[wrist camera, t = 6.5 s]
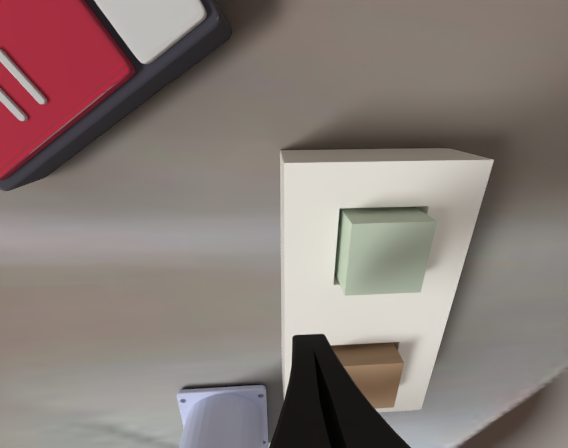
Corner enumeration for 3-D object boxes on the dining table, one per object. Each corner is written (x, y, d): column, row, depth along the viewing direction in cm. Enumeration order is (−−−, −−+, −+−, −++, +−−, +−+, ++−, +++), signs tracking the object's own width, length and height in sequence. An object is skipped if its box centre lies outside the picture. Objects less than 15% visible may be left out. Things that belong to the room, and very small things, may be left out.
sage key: (394, 260, 19) (420, 292, 16) (331, 262, 19) (344, 295, 16) (405, 199, 18) (437, 221, 14) (335, 201, 17) (351, 223, 14)
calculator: (-275, -32, 11) (-30, -412, 8) (-127, 1, 15) (75, -241, 11) (-10, 200, 15) (221, 15, 12) (50, 177, 19) (236, 34, 15)
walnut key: (376, 365, 23) (393, 407, 20) (323, 368, 23) (332, 411, 20) (383, 324, 22) (404, 362, 18) (326, 326, 21) (337, 366, 18)
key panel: (399, 366, 26) (421, 409, 23) (282, 373, 26) (284, 418, 22) (448, 147, 18) (494, 159, 15) (280, 150, 18) (284, 163, 14)
